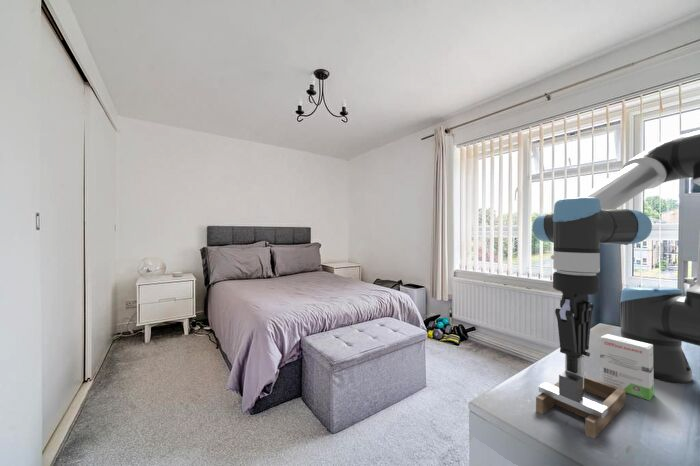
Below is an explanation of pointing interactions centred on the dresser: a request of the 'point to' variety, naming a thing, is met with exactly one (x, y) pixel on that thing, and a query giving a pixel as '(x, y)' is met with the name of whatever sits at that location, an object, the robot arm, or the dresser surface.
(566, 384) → the bar
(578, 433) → the dresser surface
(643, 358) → the ink box
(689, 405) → the dresser surface
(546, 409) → the dock
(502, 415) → the dresser surface
